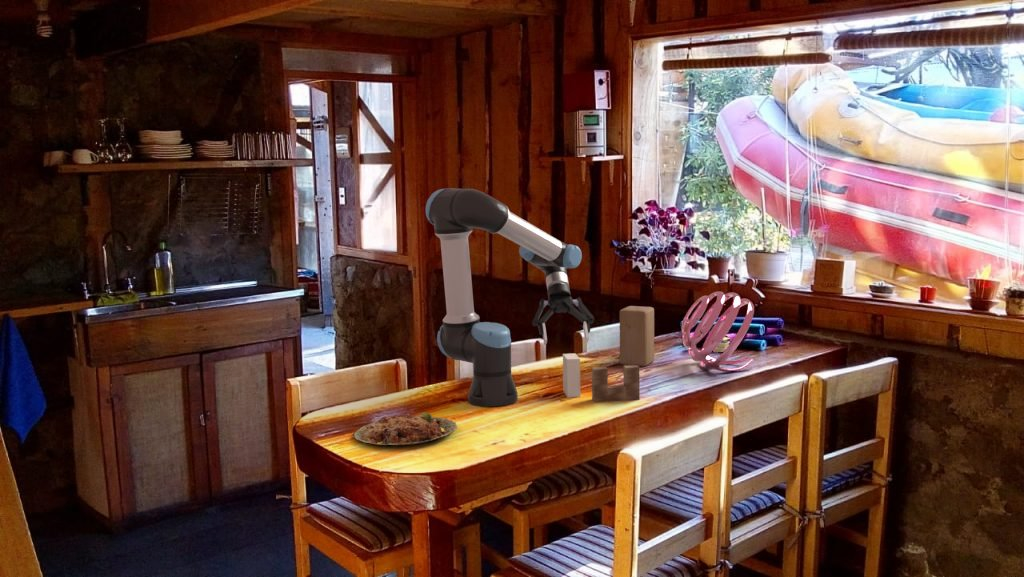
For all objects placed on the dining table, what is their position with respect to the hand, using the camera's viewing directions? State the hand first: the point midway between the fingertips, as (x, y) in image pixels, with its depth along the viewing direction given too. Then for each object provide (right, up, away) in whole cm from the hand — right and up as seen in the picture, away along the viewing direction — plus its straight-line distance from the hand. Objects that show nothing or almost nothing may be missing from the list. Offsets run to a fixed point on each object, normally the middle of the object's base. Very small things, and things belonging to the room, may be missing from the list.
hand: (566, 341), depth 283 cm
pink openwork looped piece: (+53, -11, +21) cm, 58 cm away
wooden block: (+27, -10, +31) cm, 43 cm away
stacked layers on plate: (+61, -7, +48) cm, 77 cm away
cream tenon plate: (+1, -16, -8) cm, 18 cm away
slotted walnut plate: (+14, -17, -16) cm, 27 cm away
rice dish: (-46, -23, -45) cm, 69 cm away
